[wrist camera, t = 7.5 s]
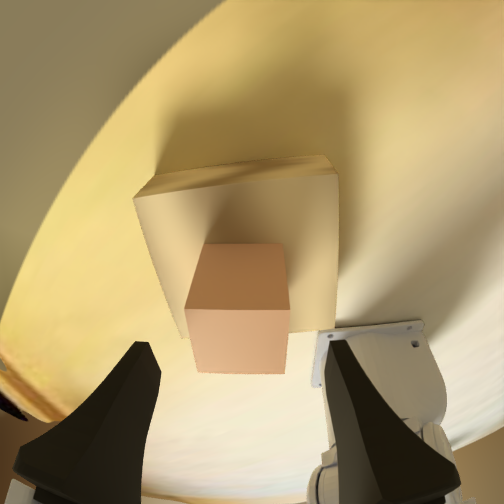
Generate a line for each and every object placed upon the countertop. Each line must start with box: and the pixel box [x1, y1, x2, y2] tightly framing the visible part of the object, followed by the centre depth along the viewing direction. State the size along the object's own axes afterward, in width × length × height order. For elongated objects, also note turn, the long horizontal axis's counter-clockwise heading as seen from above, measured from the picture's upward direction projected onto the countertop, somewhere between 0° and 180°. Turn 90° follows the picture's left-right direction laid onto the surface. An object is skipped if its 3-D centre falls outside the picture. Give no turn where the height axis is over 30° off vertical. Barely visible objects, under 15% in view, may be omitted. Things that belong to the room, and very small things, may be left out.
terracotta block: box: [184, 243, 290, 374], centre depth 15 cm, size 4×4×5 cm
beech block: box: [132, 155, 339, 339], centre depth 18 cm, size 10×10×4 cm
